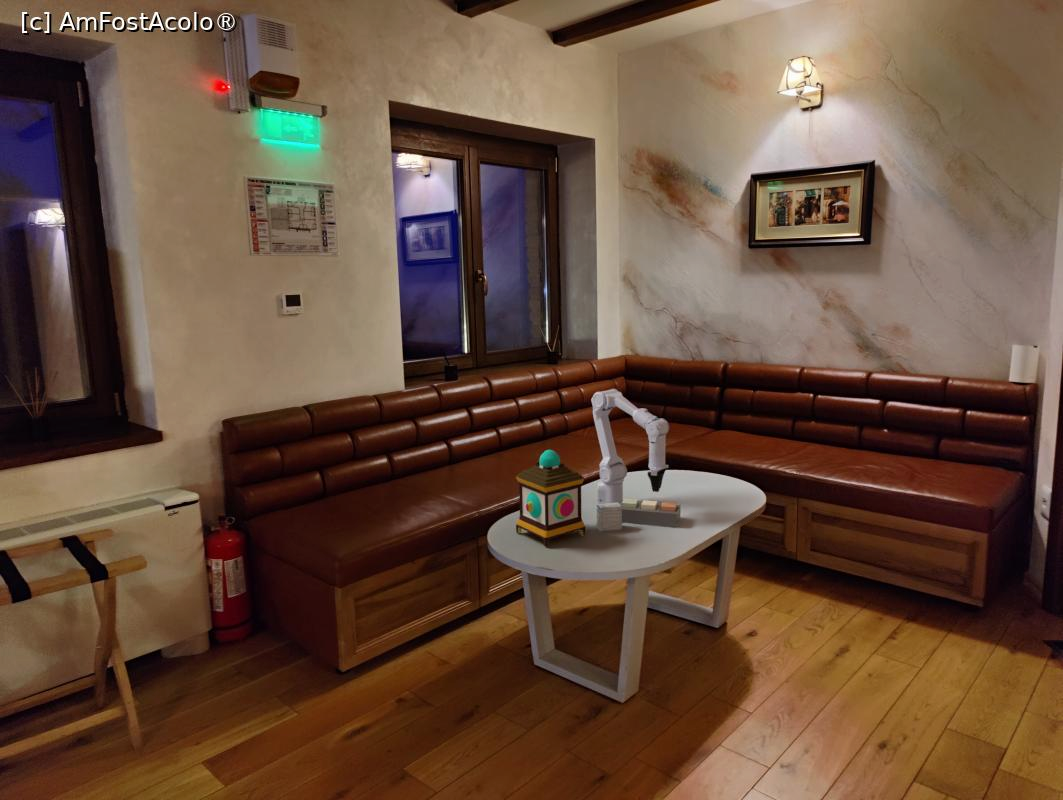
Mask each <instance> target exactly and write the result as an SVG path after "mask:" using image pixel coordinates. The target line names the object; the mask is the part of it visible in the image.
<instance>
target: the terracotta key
mask: <svg viewBox="0 0 1063 800" xmlns="http://www.w3.org/2000/svg"><path fill="white" fill-rule="evenodd" d="M677 505H678V502H672V501H671V502H669V501H662V505H661V511H672V512H676V511H677Z"/></svg>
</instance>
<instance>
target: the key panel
mask: <svg viewBox="0 0 1063 800" xmlns="http://www.w3.org/2000/svg"><path fill="white" fill-rule="evenodd" d="M642 502H643V501H639V500H638V506H637V508H625V507H622V523H623V524H624V523H625V524H633V525H643V526H644V525H645V526H656V527H667V528H676V529H677V528H678V527H679V523H680V520H681V511H682V510H681V509H682V508H681V507H682V506H681V505H682V504H677V511H676V512H672V511H661V505H662V503H663V502H662V503H660V502H657V509H656V510H648V509H641V504H642ZM620 505H621V506H622V502H621V504H620Z"/></svg>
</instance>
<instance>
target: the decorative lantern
mask: <svg viewBox="0 0 1063 800" xmlns="http://www.w3.org/2000/svg"><path fill="white" fill-rule="evenodd" d="M538 461H539V462H536V463H535V465H532V466H531V467H529V468H528V469H523V470H522V471H521V472H519V473H518V474H517V475H515V479H516V480H517V482H518V491H519V518H518V520H517V522H516V525H515V530H516V533H517V534H518V533H520V532H521V533H522V530H524V531H526V532H528V533H529V534H532V535H535V536H536V537H539V538H540V539H541V540H542V541H543V544H544V547H545V548H548V547H549V543H550V540H552V539H553V538H557V537H562V536H564V535H568V534H571V533H574V532H578V531H579V532H580V535H581V537H585V536H586V533H587V530H586V525H585V523H584V521H583V517H582V484H583V482H584V481H585V477H584V476H583V475H582V474H580V473H579V472H578V471H576V470H573V469H570V468H568V467H567V466H566V465H565V464H564V463H562V462H561V458H560V456H559V454H558V453H557V452H556V451H554V450H552V449H547V450H544V452H543V453H541V455H540V457H539V460H538ZM521 533H520V534H521Z"/></svg>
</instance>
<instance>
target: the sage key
mask: <svg viewBox="0 0 1063 800" xmlns="http://www.w3.org/2000/svg"><path fill="white" fill-rule="evenodd" d="M638 501H639V499H635V498H623V501H622V507H625V508H637V506H638Z"/></svg>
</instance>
